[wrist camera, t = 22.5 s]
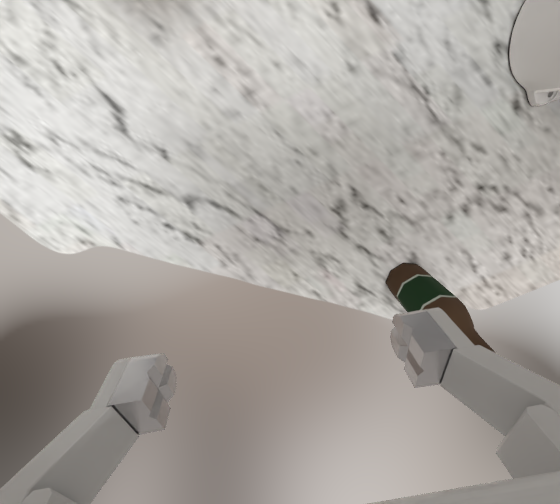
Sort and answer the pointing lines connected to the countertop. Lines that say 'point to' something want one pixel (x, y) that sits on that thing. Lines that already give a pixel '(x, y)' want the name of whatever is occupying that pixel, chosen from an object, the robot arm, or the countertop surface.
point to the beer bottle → (430, 298)
